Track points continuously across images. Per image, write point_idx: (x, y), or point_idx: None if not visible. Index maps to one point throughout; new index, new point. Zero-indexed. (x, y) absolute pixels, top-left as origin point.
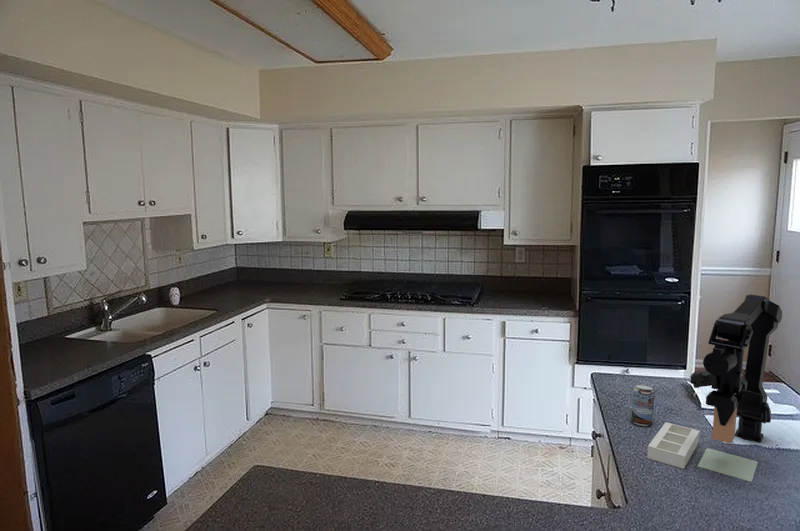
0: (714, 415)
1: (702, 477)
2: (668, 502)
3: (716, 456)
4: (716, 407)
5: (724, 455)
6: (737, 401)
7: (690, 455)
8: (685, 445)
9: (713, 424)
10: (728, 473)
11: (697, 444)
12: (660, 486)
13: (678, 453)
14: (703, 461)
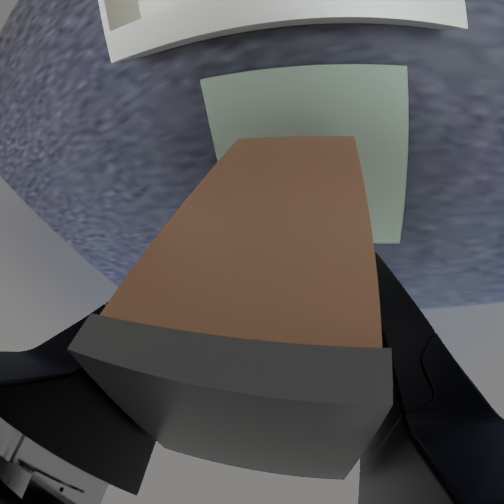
0: (158, 241)
1: (154, 117)
2: (11, 123)
3: (347, 113)
4: (32, 351)
5: (381, 139)
6: (361, 481)
7: (252, 29)
8: (212, 9)
9: (200, 185)
10: None
11: (414, 25)
12: (35, 72)
13: (112, 35)
14: (256, 82)
